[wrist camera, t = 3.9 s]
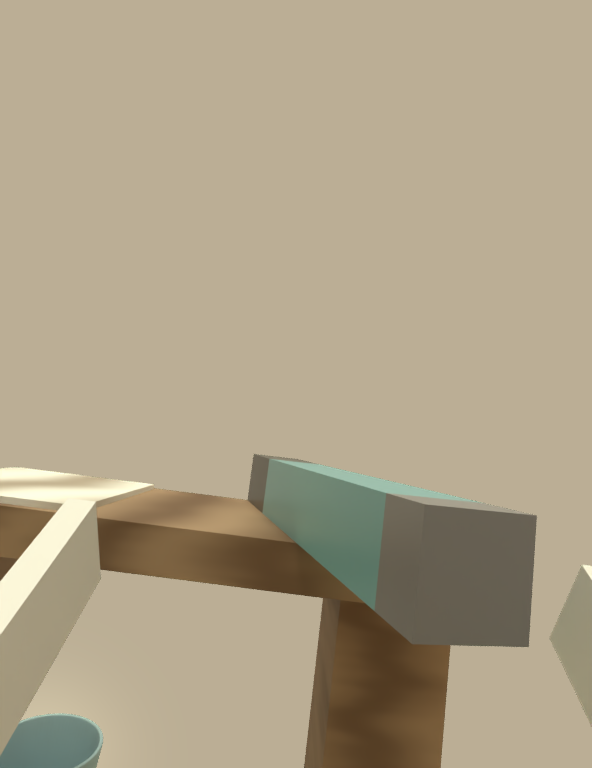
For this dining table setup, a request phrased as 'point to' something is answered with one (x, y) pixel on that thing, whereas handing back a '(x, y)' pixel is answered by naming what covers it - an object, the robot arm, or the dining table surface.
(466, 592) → the teal bar
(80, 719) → the cup
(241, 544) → the shelf
